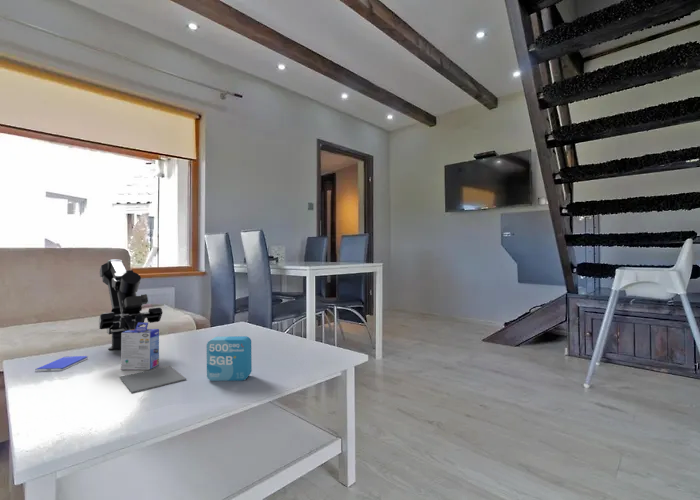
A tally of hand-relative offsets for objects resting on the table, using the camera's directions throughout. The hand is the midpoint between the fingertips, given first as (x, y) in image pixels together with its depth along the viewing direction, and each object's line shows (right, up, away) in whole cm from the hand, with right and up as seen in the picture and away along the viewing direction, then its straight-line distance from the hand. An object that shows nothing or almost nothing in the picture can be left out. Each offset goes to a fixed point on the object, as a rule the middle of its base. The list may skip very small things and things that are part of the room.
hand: (135, 337), depth 120 cm
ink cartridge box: (+5, -9, -5) cm, 11 cm away
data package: (+37, -8, -15) cm, 41 cm away
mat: (+15, -8, -15) cm, 23 cm away
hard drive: (-24, -10, -1) cm, 26 cm away
